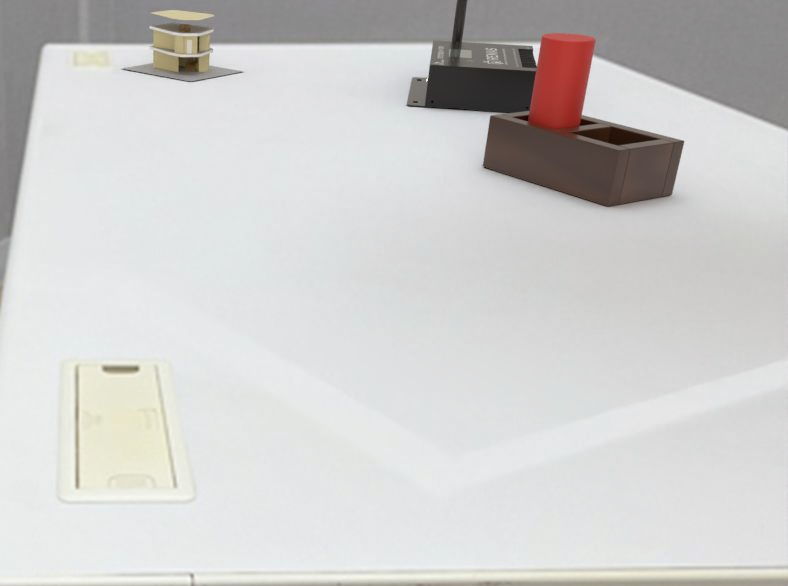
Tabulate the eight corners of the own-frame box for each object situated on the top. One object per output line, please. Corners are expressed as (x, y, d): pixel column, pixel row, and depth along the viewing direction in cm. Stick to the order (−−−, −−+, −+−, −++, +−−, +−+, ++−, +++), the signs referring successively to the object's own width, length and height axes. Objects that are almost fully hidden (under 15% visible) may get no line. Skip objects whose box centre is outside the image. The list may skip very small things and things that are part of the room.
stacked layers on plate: (120, 68, 131) (120, 13, 128) (174, 59, 137) (175, 6, 134) (190, 81, 126) (192, 24, 123) (243, 71, 132) (246, 16, 129)
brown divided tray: (545, 157, 101) (553, 107, 99) (672, 195, 92) (685, 140, 90) (482, 167, 98) (489, 115, 96) (607, 206, 89) (619, 150, 86)
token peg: (544, 163, 99) (567, 31, 94) (581, 174, 97) (607, 39, 91) (509, 169, 98) (530, 34, 92) (545, 180, 95) (570, 42, 89)
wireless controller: (551, 115, 116) (587, -88, 107) (406, 105, 118) (429, -94, 109) (540, 79, 133) (570, -99, 124) (413, 71, 135) (433, -105, 126)
